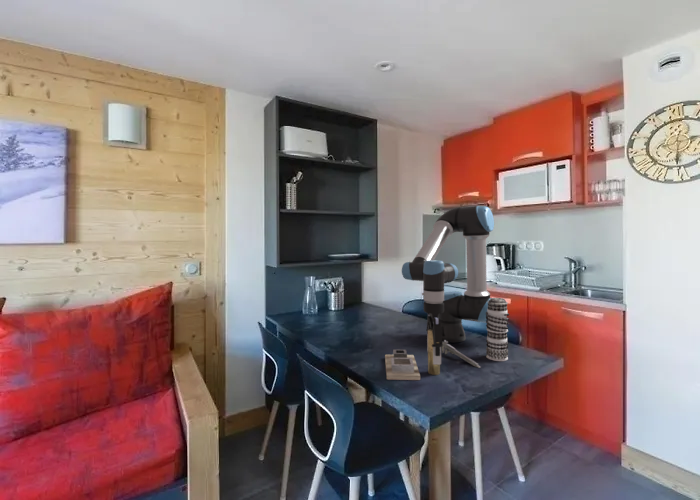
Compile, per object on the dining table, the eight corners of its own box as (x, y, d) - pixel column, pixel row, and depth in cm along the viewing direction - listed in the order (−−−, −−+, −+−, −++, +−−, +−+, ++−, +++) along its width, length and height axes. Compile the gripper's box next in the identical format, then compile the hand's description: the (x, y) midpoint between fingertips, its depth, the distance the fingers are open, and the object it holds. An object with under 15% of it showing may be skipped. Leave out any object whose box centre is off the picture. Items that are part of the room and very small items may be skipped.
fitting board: (420, 380, 126) (420, 367, 126) (386, 379, 127) (386, 367, 127) (413, 358, 148) (413, 347, 148) (385, 358, 149) (384, 347, 149)
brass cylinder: (438, 370, 135) (438, 329, 134) (441, 375, 130) (440, 332, 129) (427, 370, 135) (427, 329, 134) (429, 374, 131) (428, 332, 130)
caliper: (441, 353, 154) (441, 339, 154) (443, 353, 155) (443, 339, 154) (479, 368, 136) (479, 352, 136) (481, 368, 137) (481, 352, 137)
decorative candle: (500, 353, 153) (500, 296, 152) (513, 360, 144) (514, 300, 143) (481, 354, 151) (481, 297, 150) (493, 362, 142) (493, 301, 141)
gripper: (419, 295, 144) (419, 346, 145) (428, 308, 119) (428, 370, 120) (437, 295, 143) (438, 346, 144) (451, 308, 119) (451, 370, 120)
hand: (433, 357), depth 132 cm, fingers open, 13 cm apart
